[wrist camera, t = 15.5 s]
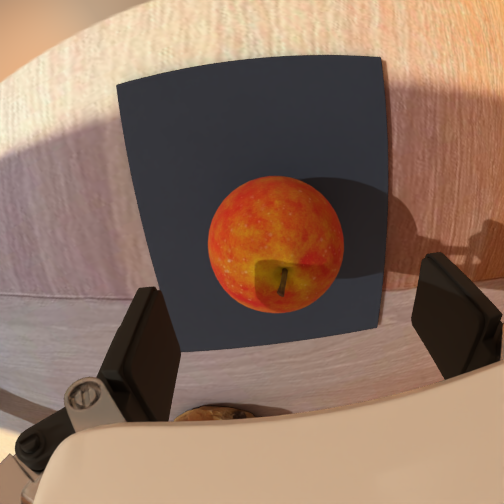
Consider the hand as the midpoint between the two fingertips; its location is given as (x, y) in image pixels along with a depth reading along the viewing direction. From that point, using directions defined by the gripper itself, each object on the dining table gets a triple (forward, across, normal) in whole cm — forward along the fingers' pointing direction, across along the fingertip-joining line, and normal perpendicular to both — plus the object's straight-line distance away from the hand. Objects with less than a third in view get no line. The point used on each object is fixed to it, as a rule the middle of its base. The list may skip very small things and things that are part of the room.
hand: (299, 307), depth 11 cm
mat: (+10, 0, +1) cm, 10 cm away
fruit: (+10, 0, +1) cm, 10 cm away
